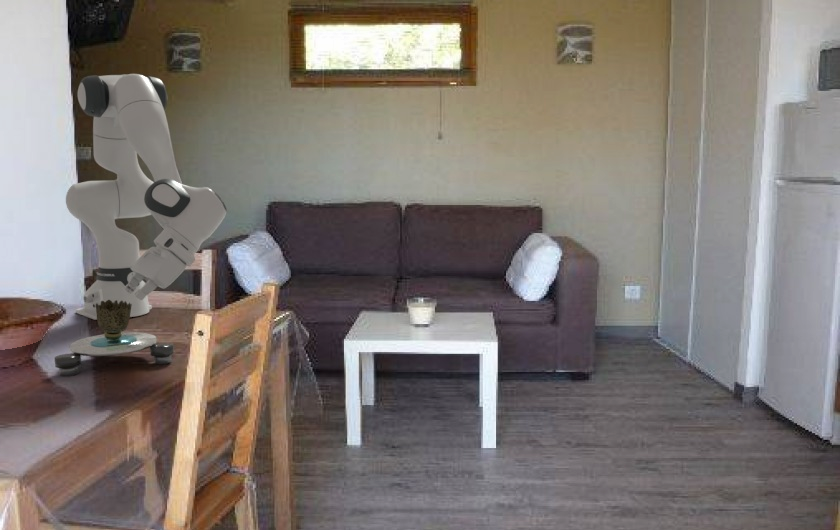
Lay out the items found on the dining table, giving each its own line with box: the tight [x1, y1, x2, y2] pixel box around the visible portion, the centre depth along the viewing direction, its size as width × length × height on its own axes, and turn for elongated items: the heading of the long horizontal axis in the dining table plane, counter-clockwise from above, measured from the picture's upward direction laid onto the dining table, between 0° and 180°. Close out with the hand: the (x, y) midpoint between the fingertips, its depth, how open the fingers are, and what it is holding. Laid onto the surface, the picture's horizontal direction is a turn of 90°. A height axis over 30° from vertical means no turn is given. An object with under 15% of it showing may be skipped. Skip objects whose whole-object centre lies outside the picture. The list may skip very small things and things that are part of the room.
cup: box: [96, 300, 132, 340], centre depth 166 cm, size 8×7×8 cm
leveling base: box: [54, 331, 175, 377], centre depth 164 cm, size 24×22×6 cm
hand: (132, 294), depth 167 cm, fingers open, 8 cm apart
